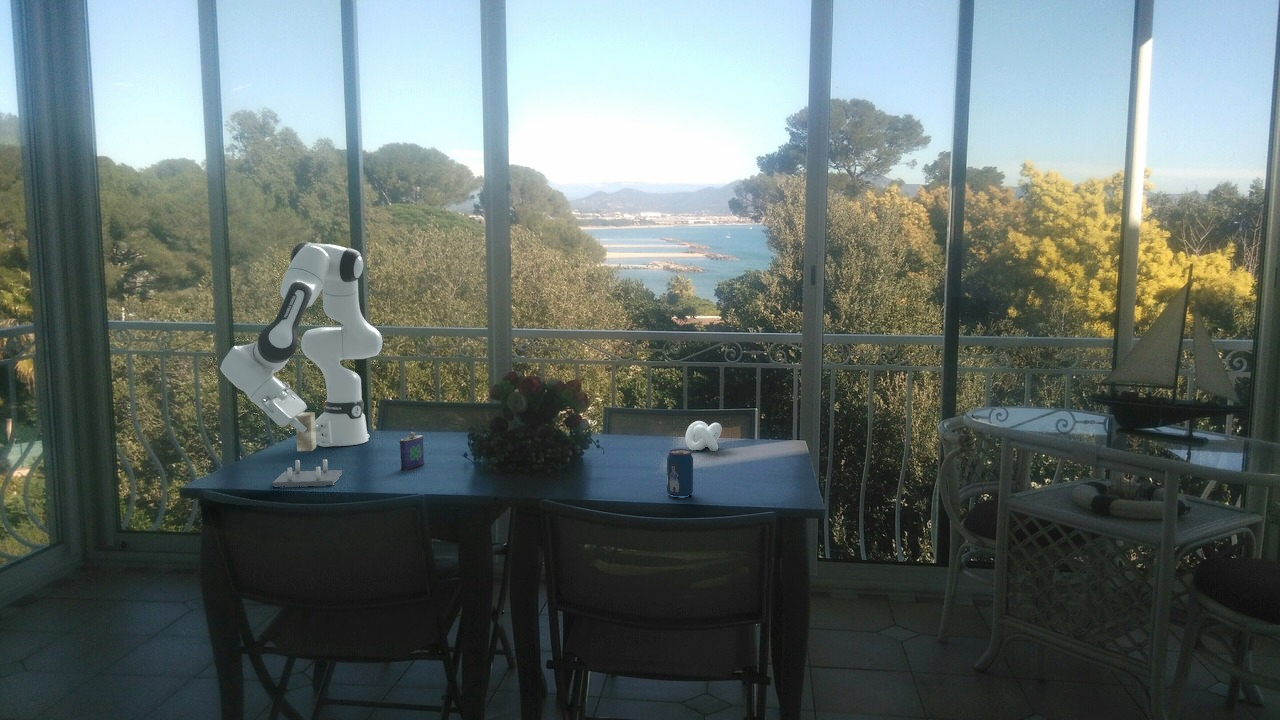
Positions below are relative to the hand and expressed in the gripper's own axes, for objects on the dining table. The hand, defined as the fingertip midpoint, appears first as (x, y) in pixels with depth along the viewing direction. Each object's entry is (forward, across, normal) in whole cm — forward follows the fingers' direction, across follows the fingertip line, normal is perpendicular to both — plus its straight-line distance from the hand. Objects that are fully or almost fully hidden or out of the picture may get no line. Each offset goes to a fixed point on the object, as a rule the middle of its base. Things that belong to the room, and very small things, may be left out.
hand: (308, 428), depth 258 cm
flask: (+30, +14, -8) cm, 34 cm away
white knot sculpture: (+94, +26, -72) cm, 121 cm away
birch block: (+4, 0, +5) cm, 6 cm away
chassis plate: (+10, 0, +11) cm, 15 cm away
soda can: (+82, -27, -60) cm, 106 cm away
